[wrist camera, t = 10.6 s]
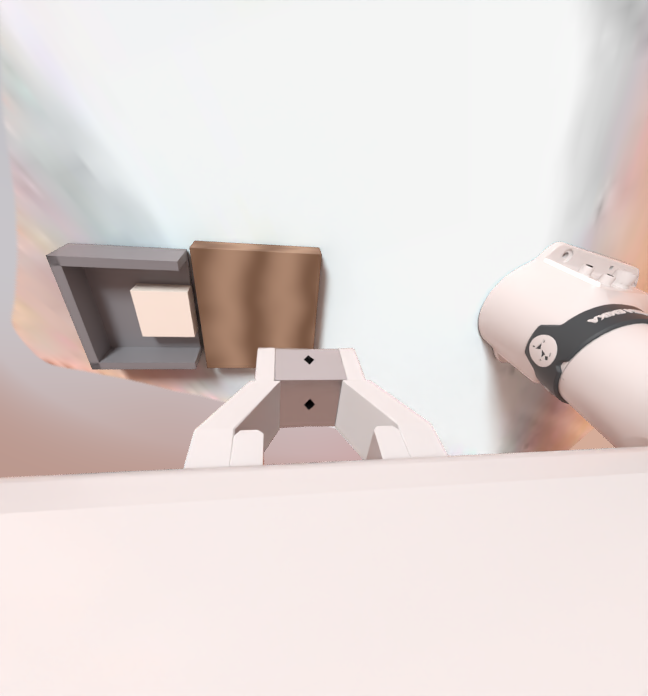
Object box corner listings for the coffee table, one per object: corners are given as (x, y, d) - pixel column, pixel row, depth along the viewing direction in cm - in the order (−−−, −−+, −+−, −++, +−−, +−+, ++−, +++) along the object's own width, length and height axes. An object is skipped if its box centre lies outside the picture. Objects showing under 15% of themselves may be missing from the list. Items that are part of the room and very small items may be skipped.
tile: (191, 285, 37) (187, 292, 36) (198, 328, 41) (194, 337, 39) (136, 283, 36) (130, 290, 35) (148, 327, 40) (142, 336, 38)
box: (186, 249, 36) (177, 261, 32) (202, 350, 43) (196, 368, 40) (68, 243, 34) (45, 255, 30) (106, 350, 42) (92, 369, 38)
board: (319, 247, 37) (321, 254, 35) (310, 357, 46) (311, 367, 44) (194, 240, 35) (189, 247, 33) (210, 356, 44) (207, 367, 42)
